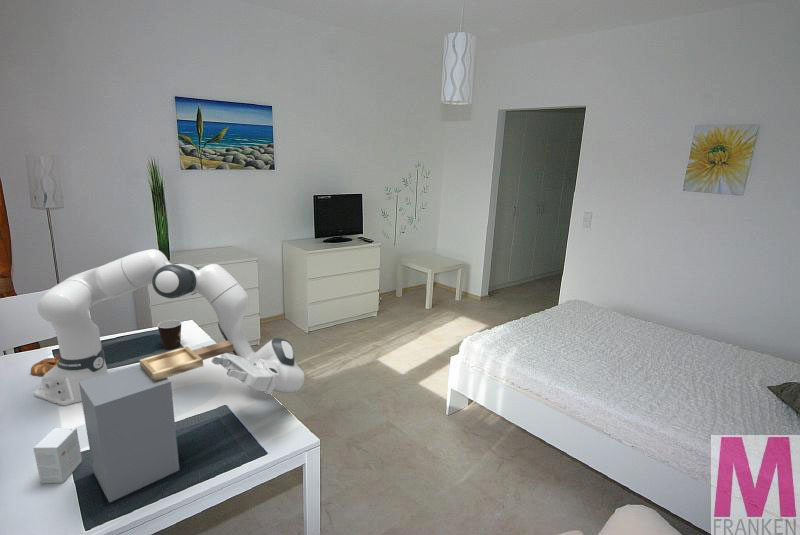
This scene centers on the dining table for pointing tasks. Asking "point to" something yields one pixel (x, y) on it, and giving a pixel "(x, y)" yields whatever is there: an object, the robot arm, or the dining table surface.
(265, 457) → the dining table surface
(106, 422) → the tall grey pillar block
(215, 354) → the oak tray
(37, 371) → the pretzel
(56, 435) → the small box
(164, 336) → the coffee mug
